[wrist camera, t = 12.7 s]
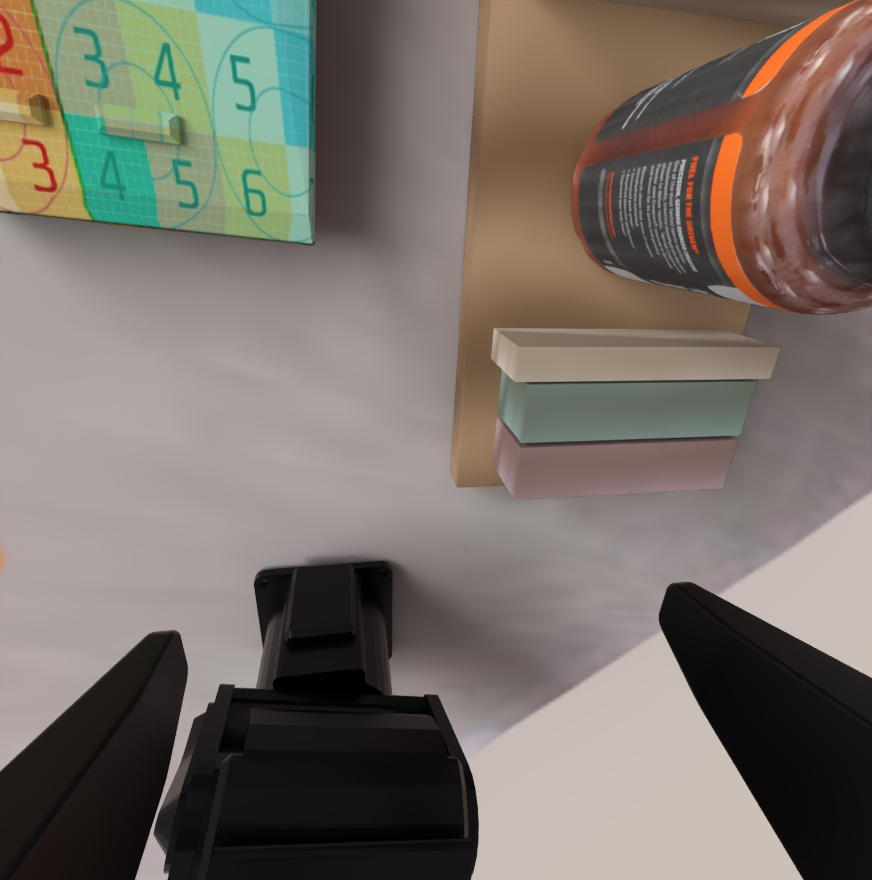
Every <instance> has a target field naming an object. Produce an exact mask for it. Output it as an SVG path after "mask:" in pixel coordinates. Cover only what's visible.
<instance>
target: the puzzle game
mask: <svg viewBox="0 0 872 880" xmlns="http://www.w3.org/2000/svg"><path fill="white" fill-rule="evenodd" d="M315 135H316V0H0V213H9V214H18V215H28V216H37V217H46V218H56V219H65V220H75V221H84V222H93V223H103V224H112V225H122V226H131V227H141V228H150V229H159V230H169V231H178V232H188V233H197V234H206V235H216V236H225V237H235V238H244V239H253V240H263V241H272V242H282V243H291V244H301V245H310V246H313V245H314V244H315Z"/></svg>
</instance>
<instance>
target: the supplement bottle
mask: <svg viewBox="0 0 872 880" xmlns="http://www.w3.org/2000/svg"><path fill="white" fill-rule="evenodd" d="M571 214H572V220H573V225H574V229H575V232H576V235H577V237H578V239H579V242H580V243H581V245H582V247H583V249H584V251H585V252H586V253H587V254H588V256H589V257H590V258H591V259H592V260H593V261H594V262H595V263H597V264H598V265H599V266H601V267H602V268H603V269H605V270H607V271H608V272H610V273H613V274H616V275H619V276H622V277H625V278H628V279H633V280H638V281H642V282H647V283H652V284H657V285H662V286H667V287H671V288H677V289H680V290H687V291H691V292H697V293H701V294H707V295H712V296H716V297H720V298H724V299H730V300H736V301H741V302H746V303H751V304H757V305H761V306H766V307H772V308H777V309H782V310H787V311H792V312H797V313H803V314H818V315H822V314H837V313H845V312H850V311H855V310H860V309H864V308H867V307H871V306H872V0H855V1H853V2H851V3H848V4H846V5H844V6H841V7H839V8H837V9H834V10H832V11H829V12H826V13H822V14H820V15H818V16H816V17H814V18H812V19H810V20H807V21H805V22H803V23H800V24H798V25H795V26H793V27H791V28H788V29H786V30H784V31H781V32H779V33H776V34H774V35H772V36H769V37H767V38H765V39H763V40H760V41H758V42H756V43H753V44H750V45H747V46H745V47H743V48H741V49H738V50H736V51H734V52H731V53H729V54H727V55H725V56H722V57H720V58H717V59H715V60H713V61H710V62H708V63H706V64H704V65H701V66H699V67H696V68H694V69H692V70H690V71H687V72H685V73H682V74H680V75H678V76H676V77H673V78H671V79H669V80H666V81H663V82H661V83H659V84H657V85H655V86H653V87H650V88H647V89H645V90H643V91H641V92H639V93H638V94H636V95H634V96H632V97H631V98H629V99H627V100H626V101H624V102H622V103H621V104H619V105H618V106H616V107H615V108H614V109H613V110H612V111H611V112H609V113H608V114H607V115H606V116H605V117H604V118H603V119H602V120H601V122H600V123H599V124H598V125H597V127H596V128H595V129H594V131H593V132H592V134H591V135H590V137H589V138H588V140H587V142H586V144H585V146H584V148H583V150H582V152H581V154H580V157H579V159H578V162H577V164H576V168H575V172H574V175H573V179H572V184H571Z"/></svg>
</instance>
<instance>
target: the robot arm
mask: <svg viewBox="0 0 872 880" xmlns="http://www.w3.org/2000/svg"><path fill="white" fill-rule="evenodd" d="M381 570H384V571H385V572H384V573H378V572H379V571H381ZM262 580H268V581H270V582H263V581H262ZM254 589H255V595H256V602H257V609H258V616H259V623H260V630H261V637H262V644H263V653H262V659H261V664H260V670H259V675H258V681H257V686H256V689H255V688H234V687H235V685H230V684H220V686H219V689H218V692H217V696H216V699H215V702H214V703H209V704H208V707H207V710H206V712H205V713H203V714H202V715H200V716H198V717H196V718H194V721H193V724H192V728H191V731H190V734H189V738H188V741H187V745H186V748H185V751H184V754H183V757H182V760H181V763H180V766H179V768H178V770H177V773H176V775H175V777H174V779H173V782H172V784H171V786H170V788H169V791H168V793H167V795H166V797H165V800H164V802H163V804H162V806H161V809H160V811H159V814H158V818H157V821H156V825H155V829H154V836H155V838H156V840H157V841H158V843H159V845H160V846H161V848H162V850H163V851H164V853H165V855H166V860H165V865H164V874H165V873H169V876H168V880H471V876H472V874H473V871H474V867H475V862H476V858H477V848H478V830H479V823H478V822H479V821H478V805H477V797H476V791H475V786H474V781H473V776H472V773H471V770H470V768H469V765H468V762H467V760H466V758H465V755H464V753H463V751H462V749H461V746H460V744H459V742H458V740H457V737H456V735H455V733H454V731H453V728H452V726H451V724H450V722H449V719H448V717H447V715H446V713H445V710H444V708H443V706H442V703H441V701H440V699H439V697H438V695H429V694H425V695H424V697H419V696H398V695H392V687H391V677H390V667H389V659H390V658H391V656H392V567H391V565H390V564H389V563H388V562H386V561H376V562H363V563H349V564H336V565H323V566H310V567H297V568H284V569H271V570H263V571H260V572H258V573H257V575H256V577H255V581H254ZM659 623H660V626H661V629H662V631H663V633H664V635H665V637H666V639H667V641H668V643H669V645H670V648H671V649H672V652H673V654H674V656H675V658H676V660H677V662H678V664H679V666H680V668H681V670H682V672H683V674H684V676H685V678H686V681H687V682H688V685H689V687H690V689H691V691H692V692H693V695H694V697H695V698H696V700H697V702H698V704H699V706H700V707H701V709H702V711H703V713H704V715H705V716H706V718H707V719H708V721H709V723H710V725H711V726H712V728H713V730H714V731H715V733H716V735H717V736H718V738H719V740H720V741H721V743H722V745H723V746H724V748H725V750H726V751H727V753H728V755H729V756H730V758H731V760H732V761H733V763H734V765H735V766H736V768H737V770H738V771H739V773H740V775H741V776H742V778H743V780H744V781H745V783H746V785H747V786H748V788H749V790H750V791H751V793H752V795H753V796H754V798H755V800H756V801H757V803H758V805H759V806H760V808H761V810H762V811H763V813H764V815H765V816H766V818H767V820H768V821H769V823H770V825H771V826H772V828H773V830H774V832H775V833H776V835H777V837H778V838H779V840H780V842H781V843H782V845H783V847H784V848H785V850H786V851H787V853H788V855H789V856H790V858H791V860H792V861H793V863H794V865H795V867H796V868H797V870H798V872H799V873H800V875H801V876H802V878H803V880H872V678H870V677H869V676H867V675H865V674H863V673H861V672H859V671H858V670H856V669H854V668H852V667H850V666H848V665H846V664H844V663H842V662H840V661H839V660H837V659H835V658H833V657H831V656H829V655H827V654H825V653H824V652H822V651H820V650H818V649H816V648H814V647H812V646H811V645H809V644H807V643H805V642H803V641H801V640H799V639H797V638H795V637H793V636H792V635H790V634H788V633H786V632H784V631H782V630H780V629H779V628H776V627H774V626H773V625H771V624H769V623H767V622H765V621H763V620H762V619H760V618H758V617H756V616H754V615H752V614H750V613H748V612H747V611H744V610H743V609H741V608H739V607H737V606H735V605H733V604H731V603H730V602H728V601H726V600H724V599H722V598H720V597H718V596H716V595H715V594H713V593H711V592H709V591H707V590H705V589H703V588H701V587H700V586H698V585H696V584H694V583H691V582H680V583H672V584H670V585H669V586H668V587H667V589H666V593H665V596H664V599H663V602H662V606H661V609H660V612H659ZM187 676H188V665H187V661H186V657H185V652H184V648H183V644H182V640H181V636H180V634H179V632H178V631H175V630H169V631H158V632H152V633H150V634H148V635H147V636H146V637H145V638H144V639H142V640H141V641H140V642H139V643H138V644H137V645H136V646H135V647H134V648H133V649H132V650H131V651H129V652H128V653H127V654H126V655H125V656H124V657H123V658H122V659H121V660H120V661H119V662H118V663H117V664H115V665H114V666H113V667H112V668H111V669H110V670H109V671H108V672H107V673H106V674H105V675H104V676H102V677H101V678H100V679H99V680H98V681H97V682H96V683H95V684H94V685H93V686H92V687H91V688H90V689H88V690H87V691H86V692H85V693H84V694H83V695H82V696H81V697H80V698H79V699H78V700H77V701H75V702H74V703H73V704H72V705H71V706H70V707H69V708H68V709H67V710H66V711H65V712H64V713H63V714H61V715H60V716H59V717H58V718H57V719H56V720H55V721H54V722H53V723H52V724H51V725H50V726H48V727H47V728H46V729H45V730H44V731H43V732H42V733H41V734H40V735H39V736H38V737H37V738H36V739H34V740H33V741H32V742H31V743H30V744H29V745H28V746H27V747H26V748H25V749H24V750H23V751H21V752H20V753H19V754H18V755H17V756H16V757H15V758H14V759H13V760H12V761H11V762H10V763H9V764H7V765H6V766H5V767H4V768H3V769H2V770H1V771H0V880H135V878H136V874H137V871H138V868H139V865H140V862H141V859H142V855H143V852H144V849H145V846H146V843H147V840H148V836H149V833H150V830H151V827H152V824H153V821H154V817H155V814H156V811H157V808H158V805H159V802H160V798H161V795H162V792H163V788H164V785H165V781H166V778H167V774H168V769H169V765H170V760H171V755H172V750H173V746H174V741H175V736H176V731H177V726H178V721H179V716H180V712H181V707H182V702H183V697H184V692H185V687H186V682H187Z"/></svg>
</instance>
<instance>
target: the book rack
mask: <svg viewBox="0 0 872 880" xmlns="http://www.w3.org/2000/svg"><path fill="white" fill-rule="evenodd" d="M853 1H855V0H480V6H479V23H478V39H477V55H476V71H475V87H474V103H473V119H472V135H471V151H470V167H469V183H468V199H467V215H466V231H465V247H464V263H463V279H462V295H461V311H460V328H459V344H458V360H457V376H456V392H455V408H454V424H453V440H452V456H451V474H452V476H453V479H454V481H455V483H456V486H457V488H458V487H478V486H497V485H505V486H506V488H507V489H508V491H509V493H510V494H511V496H512V498H513V499H514V500H526V499H544V498H562V497H579V496H597V495H614V494H632V493H649V492H667V491H684V490H702V489H719V488H723V485H724V482H725V479H726V476H727V473H728V470H729V467H730V464H731V461H732V458H733V455H734V452H735V449H736V446H737V443H738V439H736V438H734V437H732V436H735V435H740V433H741V430H742V427H743V424H744V421H745V418H746V415H747V412H748V409H749V406H750V403H751V400H752V397H753V394H754V391H755V388H756V385H757V381H755V380H753V379H770V378H771V375H772V372H773V369H774V366H775V363H776V361H777V358H778V355H779V352H780V349H781V347H779V346H775V345H772V344H769V343H765V342H762V341H759V340H755V339H752V338H749V337H746V336H742V335H743V332H744V329H745V325H746V322H747V319H748V315H749V312H750V309H751V306H752V304H751V303H746V302H741V301H736V300H730V299H724V298H720V297H716V296H712V295H707V294H701V293H697V292H691V291H687V290H680V289H677V288H671V287H667V286H662V285H657V284H652V283H647V282H642V281H638V280H633V279H628V278H625V277H622V276H619V275H616V274H613V273H610V272H608V271H607V270H605V269H603V268H602V267H601V266H599V265H598V264H597V263H595V262H594V261H593V260H592V259H591V258H590V257H589V256H588V254H587V253H586V252H585V251H584V249H583V247H582V245H581V243H580V242H579V239H578V237H577V235H576V232H575V229H574V225H573V220H572V214H571V184H572V179H573V175H574V172H575V168H576V164H577V162H578V159H579V157H580V154H581V152H582V150H583V148H584V146H585V144H586V142H587V140H588V138H589V137H590V135H591V134H592V132H593V131H594V129H595V128H596V127H597V125H598V124H599V123H600V122H601V120H602V119H603V118H604V117H605V116H606V115H607V114H608V113H609V112H611V111H612V110H613V109H614V108H615V107H616V106H618V105H619V104H621V103H622V102H624V101H626V100H627V99H629V98H631V97H632V96H634V95H636V94H638V93H639V92H641V91H643V90H645V89H647V88H650V87H653V86H655V85H657V84H659V83H661V82H663V81H666V80H669V79H671V78H673V77H676V76H678V75H680V74H682V73H685V72H687V71H690V70H692V69H694V68H696V67H699V66H701V65H704V64H706V63H708V62H710V61H713V60H715V59H717V58H720V57H722V56H725V55H727V54H729V53H731V52H734V51H736V50H738V49H741V48H743V47H745V46H747V45H750V44H753V43H756V42H758V41H760V40H763V39H765V38H767V37H769V36H772V35H774V34H776V33H779V32H781V31H784V30H786V29H788V28H791V27H793V26H795V25H798V24H800V23H803V22H805V21H807V20H810V19H812V18H814V17H816V16H818V15H820V14H822V13H826V12H829V11H832V10H834V9H837V8H839V7H841V6H844V5H846V4H848V3H851V2H853Z"/></svg>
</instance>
